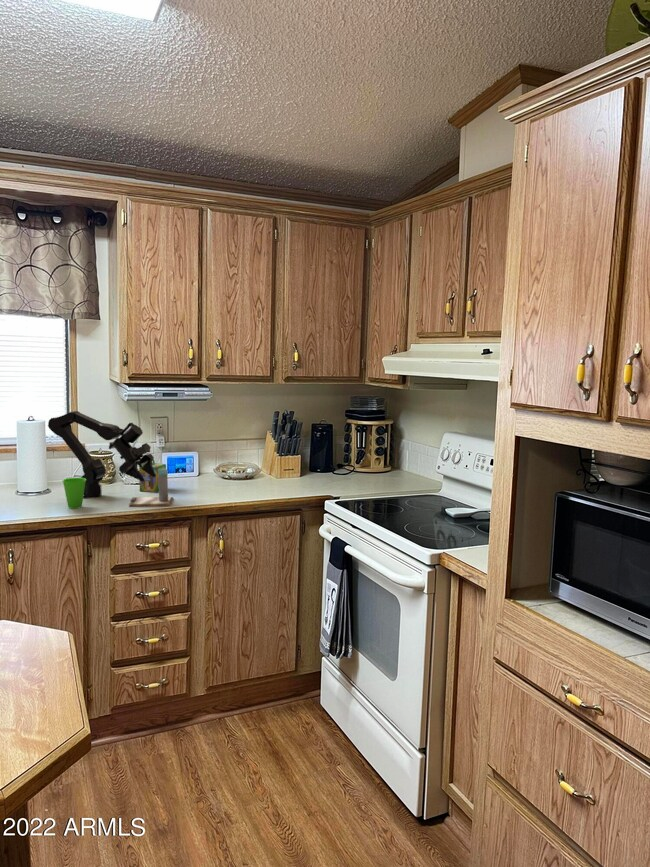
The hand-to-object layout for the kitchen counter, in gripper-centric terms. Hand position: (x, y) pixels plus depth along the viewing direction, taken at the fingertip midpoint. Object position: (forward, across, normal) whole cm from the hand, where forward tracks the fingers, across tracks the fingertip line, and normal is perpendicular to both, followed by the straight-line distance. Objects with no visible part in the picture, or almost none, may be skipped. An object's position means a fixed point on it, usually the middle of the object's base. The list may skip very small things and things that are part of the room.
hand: (149, 478), depth 272 cm
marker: (+11, 0, +1) cm, 11 cm away
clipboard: (+8, -1, +6) cm, 10 cm away
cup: (-9, -18, +24) cm, 31 cm away
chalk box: (0, +20, +14) cm, 25 cm away
